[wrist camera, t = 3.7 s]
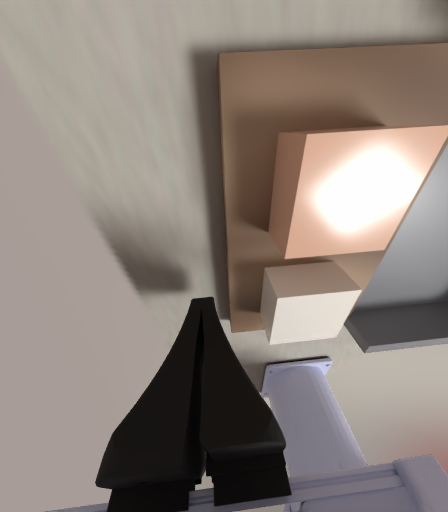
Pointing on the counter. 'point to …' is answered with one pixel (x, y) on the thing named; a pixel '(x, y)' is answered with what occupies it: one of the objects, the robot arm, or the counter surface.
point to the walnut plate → (304, 119)
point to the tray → (410, 278)
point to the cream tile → (306, 301)
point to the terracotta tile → (347, 186)
